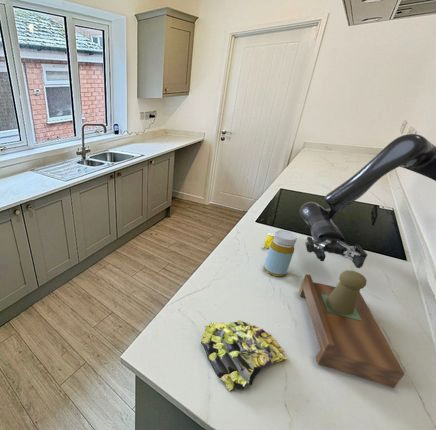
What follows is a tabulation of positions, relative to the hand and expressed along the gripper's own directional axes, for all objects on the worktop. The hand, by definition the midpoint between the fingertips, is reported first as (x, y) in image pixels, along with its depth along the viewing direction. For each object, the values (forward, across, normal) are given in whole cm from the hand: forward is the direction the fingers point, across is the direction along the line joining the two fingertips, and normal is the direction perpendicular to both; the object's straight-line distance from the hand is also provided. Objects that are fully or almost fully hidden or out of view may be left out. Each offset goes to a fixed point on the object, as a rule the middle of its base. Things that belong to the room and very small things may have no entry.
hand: (341, 262), depth 75 cm
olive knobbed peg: (+9, 0, +8) cm, 13 cm away
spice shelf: (+14, 0, +14) cm, 19 cm away
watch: (-24, -14, +14) cm, 31 cm away
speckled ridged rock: (+30, -23, +14) cm, 41 cm away
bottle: (-8, -13, +14) cm, 21 cm away
